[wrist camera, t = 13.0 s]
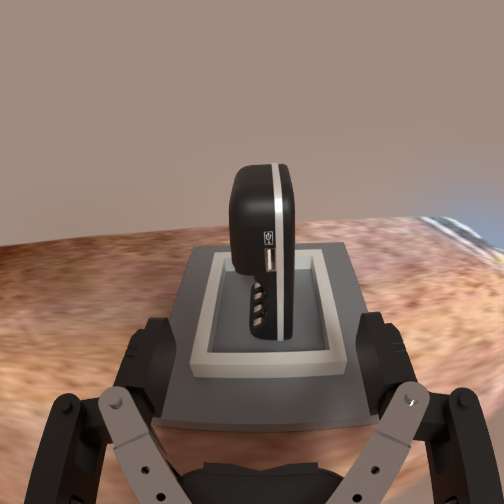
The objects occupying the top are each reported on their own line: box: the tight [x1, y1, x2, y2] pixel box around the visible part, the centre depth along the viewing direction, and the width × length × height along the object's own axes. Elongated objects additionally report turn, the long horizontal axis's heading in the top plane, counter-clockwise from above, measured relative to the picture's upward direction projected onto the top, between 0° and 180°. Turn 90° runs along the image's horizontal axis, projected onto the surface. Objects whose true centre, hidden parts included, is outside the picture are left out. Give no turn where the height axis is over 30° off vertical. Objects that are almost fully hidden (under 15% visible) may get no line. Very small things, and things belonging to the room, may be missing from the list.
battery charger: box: [229, 163, 295, 341], centre depth 22 cm, size 7×4×11 cm, turn 178°
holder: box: [151, 242, 380, 432], centre depth 25 cm, size 16×20×3 cm
